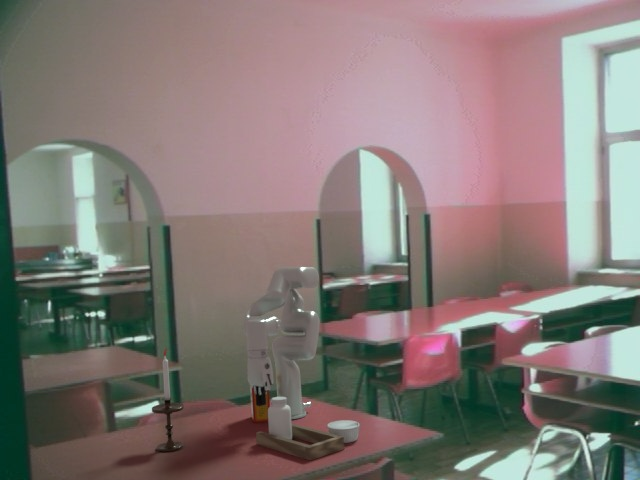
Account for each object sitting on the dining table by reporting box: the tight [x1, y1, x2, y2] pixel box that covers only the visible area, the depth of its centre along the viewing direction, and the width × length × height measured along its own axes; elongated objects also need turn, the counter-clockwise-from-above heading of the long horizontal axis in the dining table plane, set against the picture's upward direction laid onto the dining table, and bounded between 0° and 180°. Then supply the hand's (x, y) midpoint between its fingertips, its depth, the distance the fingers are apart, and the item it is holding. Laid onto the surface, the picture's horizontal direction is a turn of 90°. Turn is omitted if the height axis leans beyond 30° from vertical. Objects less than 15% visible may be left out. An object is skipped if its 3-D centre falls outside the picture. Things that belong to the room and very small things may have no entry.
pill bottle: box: [267, 396, 293, 440], centre depth 247 cm, size 8×8×15 cm
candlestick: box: [151, 347, 185, 453], centre depth 246 cm, size 11×11×35 cm
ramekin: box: [326, 419, 361, 444], centre depth 245 cm, size 11×11×5 cm
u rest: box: [255, 423, 345, 461], centre depth 239 cm, size 15×28×4 cm, turn 42°
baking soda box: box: [249, 386, 271, 424], centre depth 278 cm, size 10×6×16 cm
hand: (261, 405), depth 254 cm, fingers closed
